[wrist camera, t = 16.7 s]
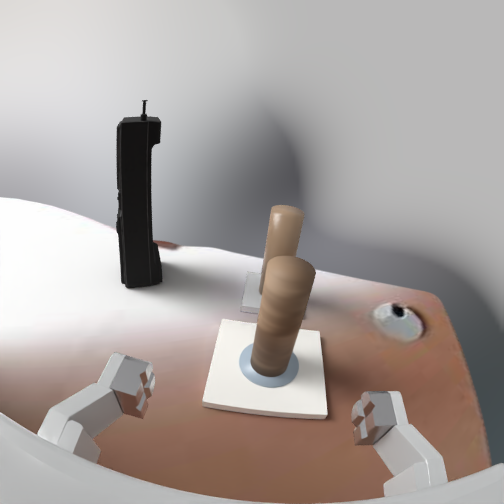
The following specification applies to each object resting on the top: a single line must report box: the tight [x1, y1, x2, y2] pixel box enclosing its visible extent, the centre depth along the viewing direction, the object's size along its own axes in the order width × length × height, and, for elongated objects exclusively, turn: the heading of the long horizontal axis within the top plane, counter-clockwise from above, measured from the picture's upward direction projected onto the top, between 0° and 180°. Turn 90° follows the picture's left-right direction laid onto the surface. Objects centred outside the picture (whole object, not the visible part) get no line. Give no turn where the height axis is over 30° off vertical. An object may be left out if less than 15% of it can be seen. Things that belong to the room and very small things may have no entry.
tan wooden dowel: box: [241, 205, 304, 314], centre depth 39 cm, size 8×8×13 cm
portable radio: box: [116, 100, 162, 288], centre depth 37 cm, size 8×6×25 cm
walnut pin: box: [250, 256, 316, 377], centre depth 27 cm, size 4×4×12 cm
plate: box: [202, 319, 327, 419], centre depth 30 cm, size 12×12×1 cm
